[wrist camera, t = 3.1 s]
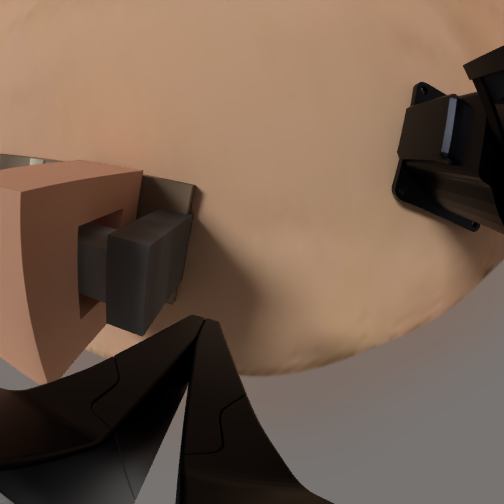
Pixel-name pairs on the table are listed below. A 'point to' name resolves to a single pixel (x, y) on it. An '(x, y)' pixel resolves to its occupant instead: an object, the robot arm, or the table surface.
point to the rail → (133, 252)
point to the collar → (54, 258)
